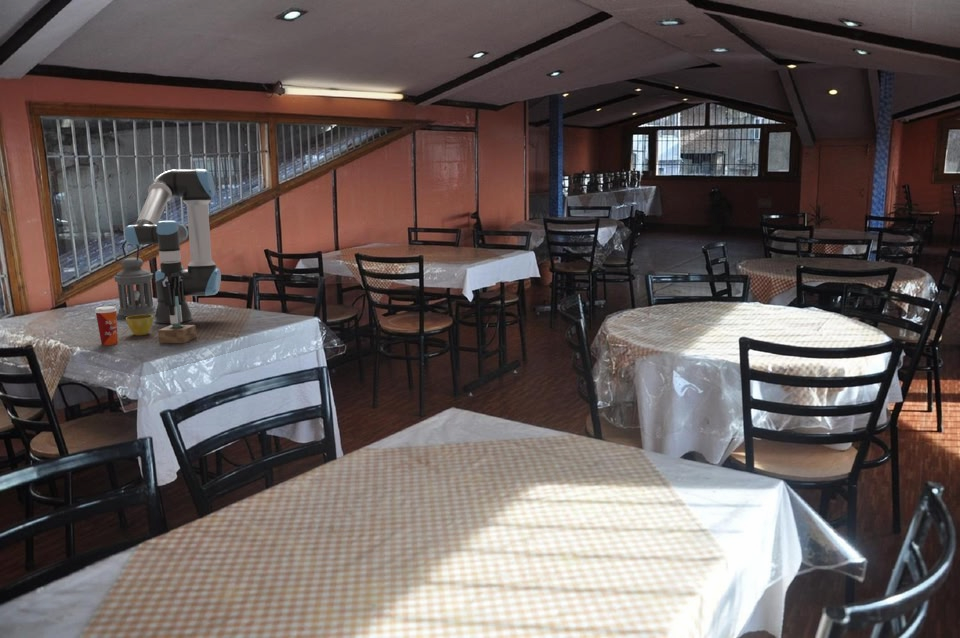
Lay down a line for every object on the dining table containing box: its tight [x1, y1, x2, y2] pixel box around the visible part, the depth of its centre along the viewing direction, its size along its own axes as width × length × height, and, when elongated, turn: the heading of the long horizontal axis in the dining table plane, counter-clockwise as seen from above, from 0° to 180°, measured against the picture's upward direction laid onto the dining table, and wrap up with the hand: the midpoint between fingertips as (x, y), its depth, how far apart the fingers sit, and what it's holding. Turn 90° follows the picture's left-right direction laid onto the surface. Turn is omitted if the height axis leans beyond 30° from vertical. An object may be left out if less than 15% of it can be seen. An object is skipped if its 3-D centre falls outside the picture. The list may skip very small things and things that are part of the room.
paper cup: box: [94, 305, 119, 346], centre depth 300 cm, size 8×8×14 cm
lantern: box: [113, 240, 157, 317], centre depth 362 cm, size 17×17×35 cm
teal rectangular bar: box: [171, 296, 182, 329], centre depth 304 cm, size 3×3×16 cm
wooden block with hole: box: [157, 324, 197, 344], centre depth 305 cm, size 10×10×5 cm
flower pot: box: [125, 314, 154, 336], centre depth 317 cm, size 10×10×7 cm
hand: (176, 322), depth 304 cm, fingers closed on teal rectangular bar, 2 cm apart
